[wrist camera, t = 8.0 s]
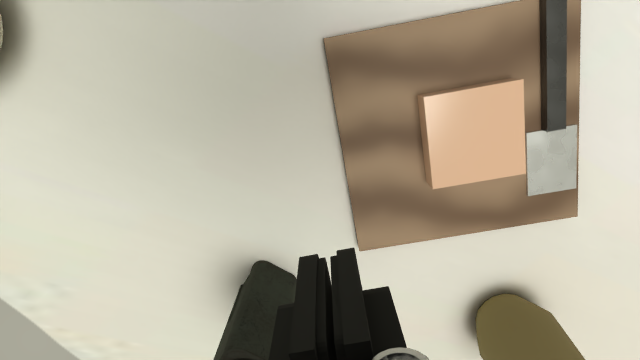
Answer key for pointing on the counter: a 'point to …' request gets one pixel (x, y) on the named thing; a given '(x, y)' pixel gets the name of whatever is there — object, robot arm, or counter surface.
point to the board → (404, 122)
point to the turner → (552, 110)
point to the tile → (473, 133)
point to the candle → (256, 313)
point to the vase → (1, 31)
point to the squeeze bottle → (521, 332)
